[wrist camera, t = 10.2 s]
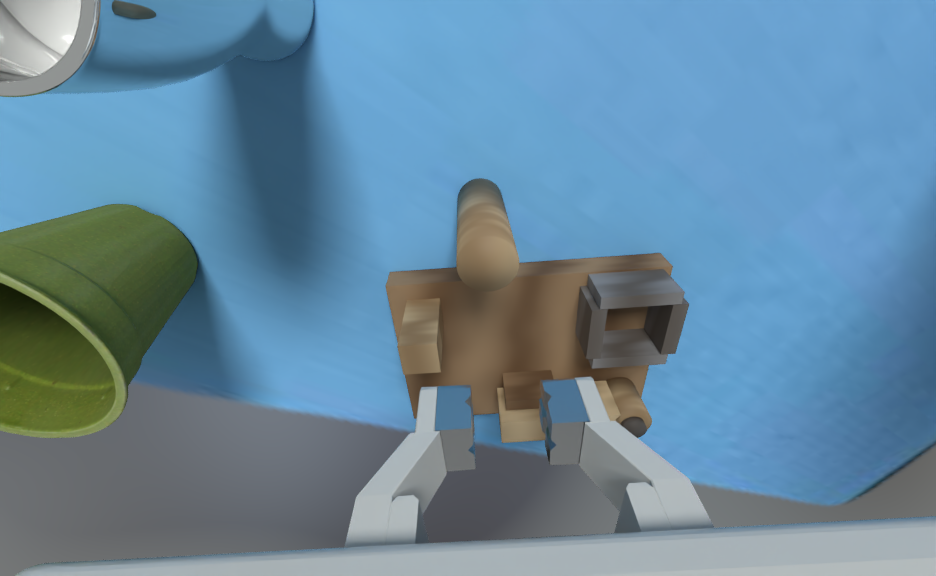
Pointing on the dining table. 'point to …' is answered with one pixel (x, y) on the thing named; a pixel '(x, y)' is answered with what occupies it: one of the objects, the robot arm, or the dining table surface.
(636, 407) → the hinged leg
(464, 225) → the oak leg peg
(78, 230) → the plant pot
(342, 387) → the dining table surface
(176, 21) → the beer glass
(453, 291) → the wooden assembly base board
